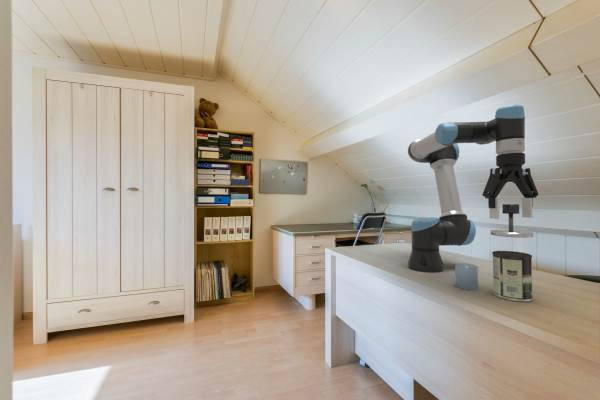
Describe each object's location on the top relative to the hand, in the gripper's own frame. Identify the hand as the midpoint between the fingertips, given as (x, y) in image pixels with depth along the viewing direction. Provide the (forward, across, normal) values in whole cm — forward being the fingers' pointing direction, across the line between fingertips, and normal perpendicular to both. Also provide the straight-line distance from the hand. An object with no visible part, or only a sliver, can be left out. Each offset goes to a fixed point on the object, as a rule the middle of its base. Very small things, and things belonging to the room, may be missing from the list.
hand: (511, 218), depth 88 cm
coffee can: (+26, 0, 0) cm, 26 cm away
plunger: (+6, 0, 0) cm, 6 cm away
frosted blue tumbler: (+26, -7, +11) cm, 29 cm away
